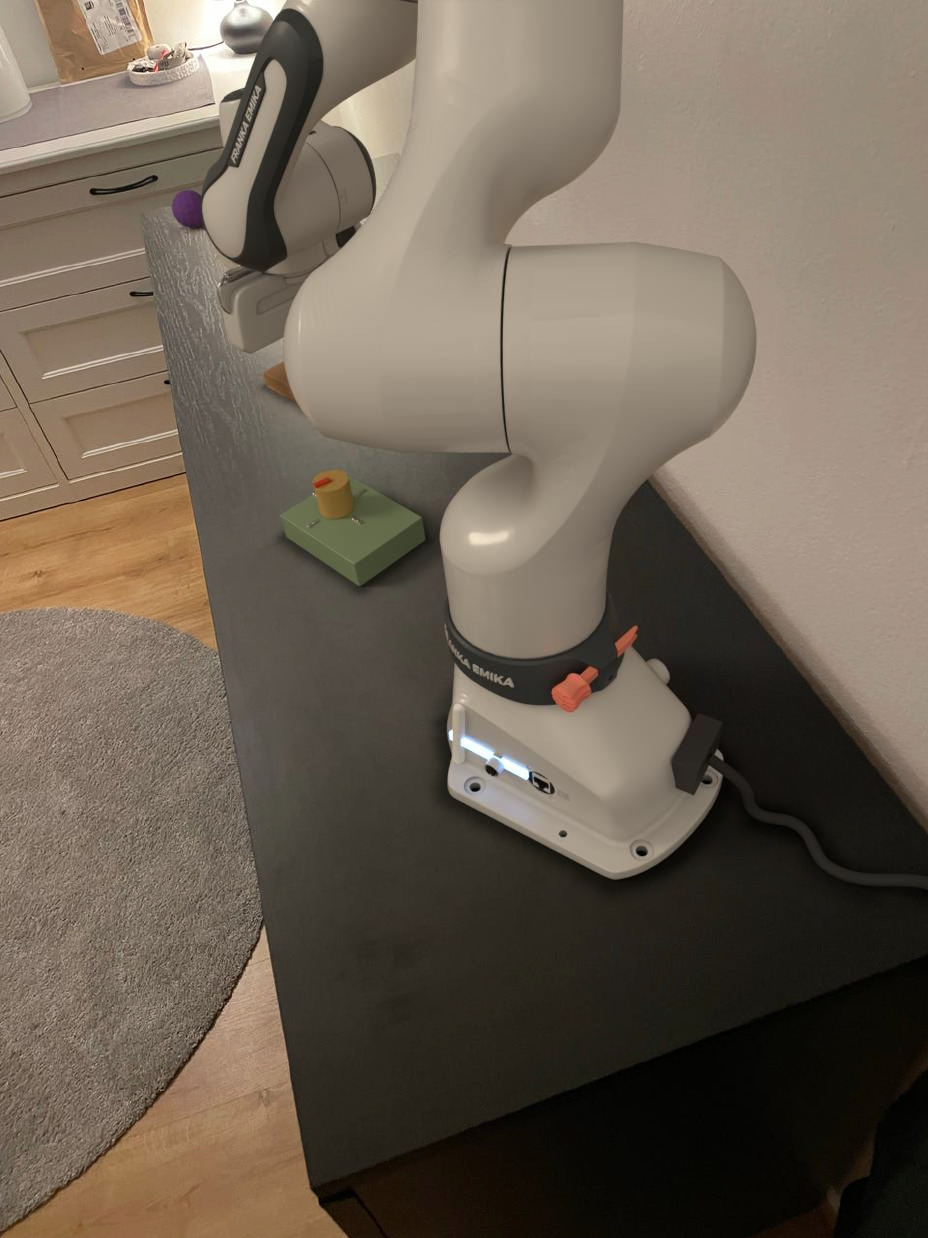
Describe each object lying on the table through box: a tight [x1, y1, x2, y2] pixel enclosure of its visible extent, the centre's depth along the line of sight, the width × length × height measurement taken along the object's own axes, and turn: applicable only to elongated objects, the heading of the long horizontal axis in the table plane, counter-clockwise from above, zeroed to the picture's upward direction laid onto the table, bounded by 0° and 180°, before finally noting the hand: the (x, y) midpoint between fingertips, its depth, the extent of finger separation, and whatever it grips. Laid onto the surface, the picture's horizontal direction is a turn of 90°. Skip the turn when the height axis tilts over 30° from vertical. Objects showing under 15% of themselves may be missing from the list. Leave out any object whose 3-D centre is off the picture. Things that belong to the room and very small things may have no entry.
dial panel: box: [279, 473, 427, 587], centre depth 91 cm, size 12×9×3 cm
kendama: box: [171, 189, 204, 229], centre depth 156 cm, size 6×6×20 cm
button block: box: [263, 361, 297, 404], centre depth 113 cm, size 11×9×4 cm
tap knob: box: [312, 469, 355, 519], centre depth 89 cm, size 4×4×4 cm
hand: (313, 353), depth 111 cm, fingers closed, pressing on red button
